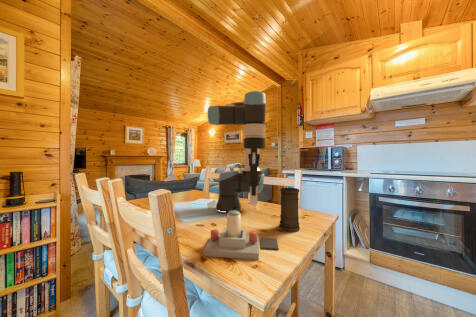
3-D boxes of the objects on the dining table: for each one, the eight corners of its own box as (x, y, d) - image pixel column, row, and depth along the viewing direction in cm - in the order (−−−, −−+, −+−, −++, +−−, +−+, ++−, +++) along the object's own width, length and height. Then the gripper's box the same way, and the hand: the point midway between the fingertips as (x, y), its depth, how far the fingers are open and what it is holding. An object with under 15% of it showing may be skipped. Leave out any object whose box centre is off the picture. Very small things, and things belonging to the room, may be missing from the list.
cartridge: (227, 238, 71) (228, 209, 71) (241, 239, 70) (241, 210, 70) (225, 244, 66) (225, 213, 66) (239, 245, 65) (240, 214, 65)
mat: (261, 238, 75) (261, 237, 75) (276, 239, 74) (276, 238, 74) (261, 248, 67) (261, 247, 67) (278, 250, 66) (278, 248, 66)
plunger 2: (249, 238, 69) (249, 231, 69) (257, 239, 69) (257, 231, 69) (248, 242, 66) (249, 234, 66) (257, 242, 66) (257, 234, 66)
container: (300, 232, 81) (301, 191, 81) (279, 231, 83) (280, 190, 83) (298, 225, 90) (299, 187, 90) (279, 223, 92) (279, 186, 91)
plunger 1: (211, 236, 70) (211, 229, 70) (219, 237, 70) (219, 229, 70) (209, 240, 68) (209, 232, 68) (217, 240, 67) (217, 232, 67)
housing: (213, 237, 76) (213, 224, 76) (258, 239, 74) (258, 227, 74) (203, 255, 62) (203, 240, 62) (258, 259, 60) (258, 244, 60)
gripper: (245, 138, 73) (244, 199, 74) (242, 135, 60) (241, 209, 61) (264, 138, 73) (263, 199, 73) (265, 135, 60) (264, 210, 60)
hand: (253, 203), depth 67 cm, fingers closed
